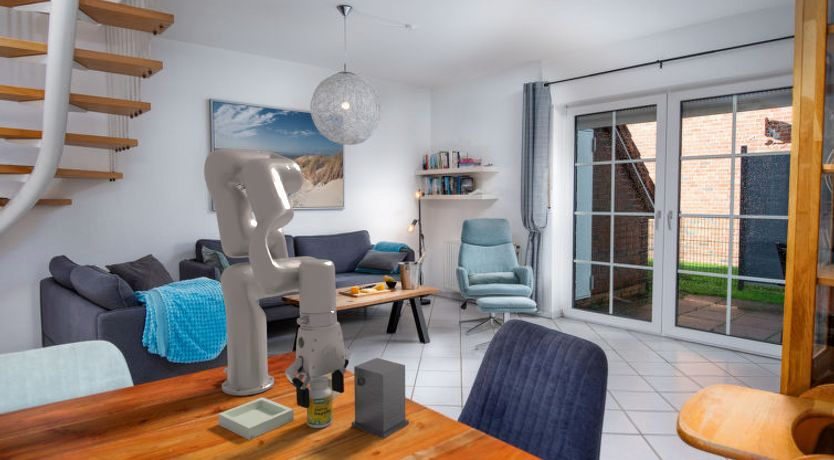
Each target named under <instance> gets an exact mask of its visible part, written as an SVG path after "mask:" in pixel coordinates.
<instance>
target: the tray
mask: <svg viewBox="0 0 834 460" xmlns="http://www.w3.org/2000/svg"><path fill="white" fill-rule="evenodd" d="M217 419H218V426H220V427H222V428H224V429H227V430H228V431H231V432H232V433H234V434H237V435H239V436H240V437H242V438H244V439H246V440H248V441H250V440H253V439H255V438H257V437H260V436H261V435H264V434H266V433H269V432H271V431H272V430H275V429H278V428H280V427H281V426H282V427H283V426H285V425H286V424H288V423H291V422H293V421H294V419H295V415H294V409H293V408H290V407H288V406H286V405H283V404H281V403H278V402H276V401H273V400H270V399H269V398H266V397H262V396H261V397H259V398H256V399H253V400H252V401H249V402H245V403H243V404H240V405H239V406H236V407H233V408H230V409H228V410H225V411H222V412H219V413H218V417H217Z"/></svg>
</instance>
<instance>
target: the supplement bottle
mask: <svg viewBox="0 0 834 460" xmlns="http://www.w3.org/2000/svg"><path fill="white" fill-rule="evenodd" d="M328 384H329V383H328V378H327V377H324V376H320V377H317V378H311V379H310V381H309V383H308V386H309V387H308V388H309V401H310V406H309V407H308V408H306V423H307V425H308V426H309V427H310V428H314V429H320V428H321V429H322V428H323V429H324V428H326V427H328V426H330V425H331V424H332V423H333V416H334V415H333V400H332V390H331V388H330V387H328Z"/></svg>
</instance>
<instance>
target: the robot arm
mask: <svg viewBox="0 0 834 460" xmlns="http://www.w3.org/2000/svg"><path fill="white" fill-rule="evenodd" d="M203 172H204V173H203V174H204V182H205V185H206V188H207V191H208V192H209V195H210V196H211V197H210V198H211V199H212V203H213V205H214V210H215V213H216V214H215V215H216V216H215V217H216V221H217V228H218V232H219V239H220V243H221V244H220V245H221V249H222V251H223V253H224V255H225V256H227V257H228V258H232V259H242V258H248V261H246V262H240V263H239V262H238V263H235V264H231V265H229V266H227V267H226V268H224V270H223V271H222V273H221V275H220V287H221V290H222V296H223V300H224V308H225V319H226V320H225V321H226V322H225V323H226V324H225V325H226V345H227V346H226V349H227V367H225V368H223V372H222V373H224V374H227V375H226V376H227V379H226V380H225V381H224V382H223V383H222V384H221V391H222V392H224V394H227V395H229V396H238V397H240V396H251V395H257V394H260V393H263V392H267V391H268V390H270V389H271V388H272V387H274V385H275V378H274V377H273V376H271V375H270V374H269V373H268V369H269V368H268V367H269V366H268V334H267V328H268V327H267V315H266V313H265V312H264V310H263V308H262V307H261V306H260V305H259V303H258V302H257V301H258V300H260V299H265V298H271V297H278V296H282V295H284V294H289V293H294V292H296V293H298V294H299V295H298V296H299V297H298V298H299V300H298V302H299V317H298V318H296V323H297V325H300V327H298V330H297V335H296V336H297V337H296V345H295V348H296V349H295V360H294V361H293V362H292V363H291V364H290V365H289V366H288V367H287V368H286V369H285V371H284V374H285V376H286V378H287V379H288V382H289V383H290V384H291V385H293V387H294V388H296V389H295V392H296V395H295V396H296V403H297V404H296V405H297V406H299V407H302V408H304V409H307V408H308V407H309V406H310V401H309V388H310V387H308V386H309V381H310V379H311V378H317V377H320V376H323V375H326V374H328V373H331V372H332V390H333V391H336V392H339V393H341V394H342V393H343V394H344V392H345V381H344V380H345V379H344V375H345V374H346V372H347V367H348V366H349V362H350V358H351V354H352V350H351V349H348V348H346V347H345V345H344V337H343V331H342V328H341V323H340V322H339V321H338V318H337V290H336V289H337V288H336V267H335V264H334V262H333V261H331V260H330V259H323V258H322V259H319V258H316V257H313V256H307V255H305V256H295V257H289V252H288V247H287V240H286V237H285V232H284V230H283V228H284V227H285V226H287V225H288V224H289V223H290V222H292V220H293V219H294V215H295V212H294V208H293V206H292V204H291V201H290V198H289V196H288V195H292V194H296V193H299V191H300V190H301V188H302V186H303V182H304V179H303V178H304V177H303V171H302V170H301V168H300V166H299V164H298V163H296V162H295V160H293V159H291V158H288V157H286V156H283V155H281V154H279V153H276V152H273V151H269V150H257V149H245V148H244V149H243V148H231V147H230V148H219V149H216V150H213V151H211V152H210V153H208V155H207V156H206V158H205V162H204V165H203ZM237 184H243V186H244V190H245V192H246V194H245V193H244V191H243V190H242V189H241V188H240V187H238V186H237ZM253 215H254V216H253Z"/></svg>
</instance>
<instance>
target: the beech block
mask: <svg viewBox="0 0 834 460" xmlns="http://www.w3.org/2000/svg"><path fill="white" fill-rule="evenodd" d="M323 376H324V377H327V378H328V383H329V384H328V387H330V388H331V390H332V372H331V373H328V374H326V375H323ZM341 394H342V393H339V392H336V391H333V390H332V401H333V400H334V399H336V398H337V397H338V396H340V395H341Z"/></svg>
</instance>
